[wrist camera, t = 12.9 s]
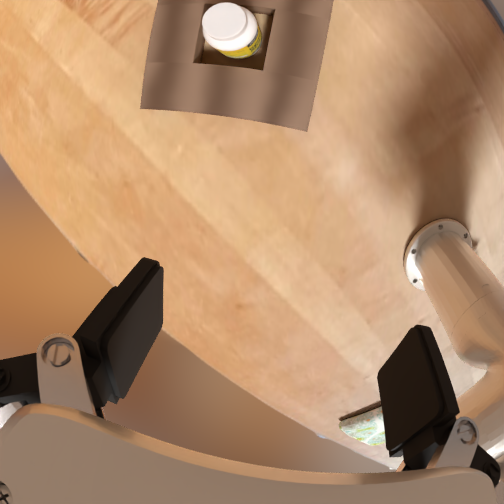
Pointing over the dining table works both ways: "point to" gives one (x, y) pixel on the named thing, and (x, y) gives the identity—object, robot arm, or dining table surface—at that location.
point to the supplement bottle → (232, 30)
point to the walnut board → (237, 78)
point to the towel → (366, 427)
